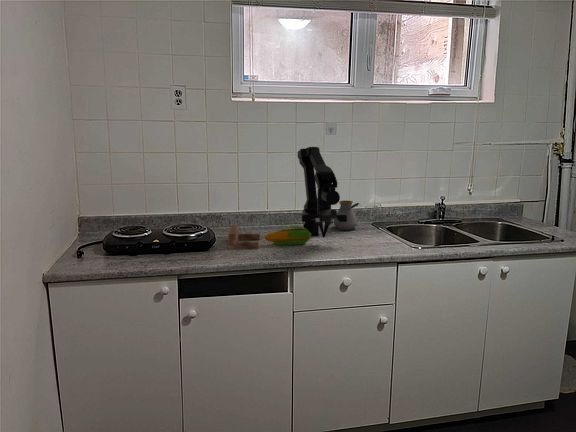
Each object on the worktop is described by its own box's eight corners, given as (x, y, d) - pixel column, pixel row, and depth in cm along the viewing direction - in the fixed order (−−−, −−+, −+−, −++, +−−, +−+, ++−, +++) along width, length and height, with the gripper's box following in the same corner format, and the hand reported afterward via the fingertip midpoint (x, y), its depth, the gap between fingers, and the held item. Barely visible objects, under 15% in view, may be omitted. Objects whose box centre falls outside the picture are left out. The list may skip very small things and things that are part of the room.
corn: (313, 227, 200) (265, 229, 195) (313, 245, 201) (265, 248, 196) (308, 224, 207) (262, 226, 202) (308, 241, 208) (262, 244, 204)
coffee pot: (330, 226, 235) (330, 195, 232) (352, 224, 238) (353, 194, 235) (345, 236, 215) (346, 203, 212) (369, 235, 218) (370, 202, 214)
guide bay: (259, 239, 210) (259, 225, 209) (258, 248, 196) (258, 234, 194) (232, 239, 210) (231, 225, 209) (228, 248, 196) (228, 234, 194)
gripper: (302, 204, 192) (302, 242, 195) (349, 204, 192) (348, 242, 195) (301, 199, 203) (300, 235, 206) (345, 199, 203) (344, 235, 206)
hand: (323, 237), depth 203 cm, fingers closed
